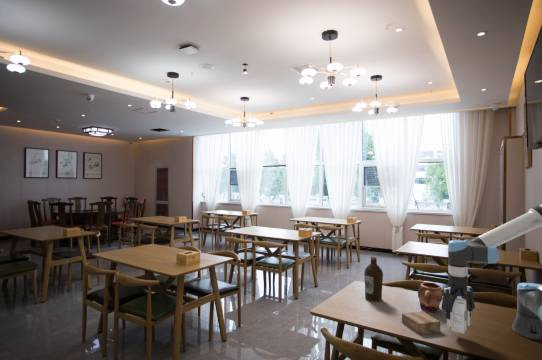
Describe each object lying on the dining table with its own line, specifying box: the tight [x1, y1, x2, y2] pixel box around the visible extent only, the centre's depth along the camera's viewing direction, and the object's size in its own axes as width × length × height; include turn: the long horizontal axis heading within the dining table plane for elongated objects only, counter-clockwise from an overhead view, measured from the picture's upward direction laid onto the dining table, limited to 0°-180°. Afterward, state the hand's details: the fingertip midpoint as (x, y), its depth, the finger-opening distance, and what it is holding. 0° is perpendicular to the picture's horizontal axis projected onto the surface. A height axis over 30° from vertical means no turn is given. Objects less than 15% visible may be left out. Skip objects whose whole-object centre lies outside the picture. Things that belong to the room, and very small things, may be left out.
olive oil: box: [363, 256, 384, 303], centre depth 193 cm, size 11×11×25 cm
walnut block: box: [401, 310, 441, 335], centre depth 156 cm, size 12×12×5 cm
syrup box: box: [449, 296, 467, 335], centre depth 146 cm, size 6×6×14 cm
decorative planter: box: [417, 281, 443, 313], centre depth 177 cm, size 20×12×14 cm, turn 148°
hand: (458, 325), depth 146 cm, fingers closed on syrup box, 8 cm apart
